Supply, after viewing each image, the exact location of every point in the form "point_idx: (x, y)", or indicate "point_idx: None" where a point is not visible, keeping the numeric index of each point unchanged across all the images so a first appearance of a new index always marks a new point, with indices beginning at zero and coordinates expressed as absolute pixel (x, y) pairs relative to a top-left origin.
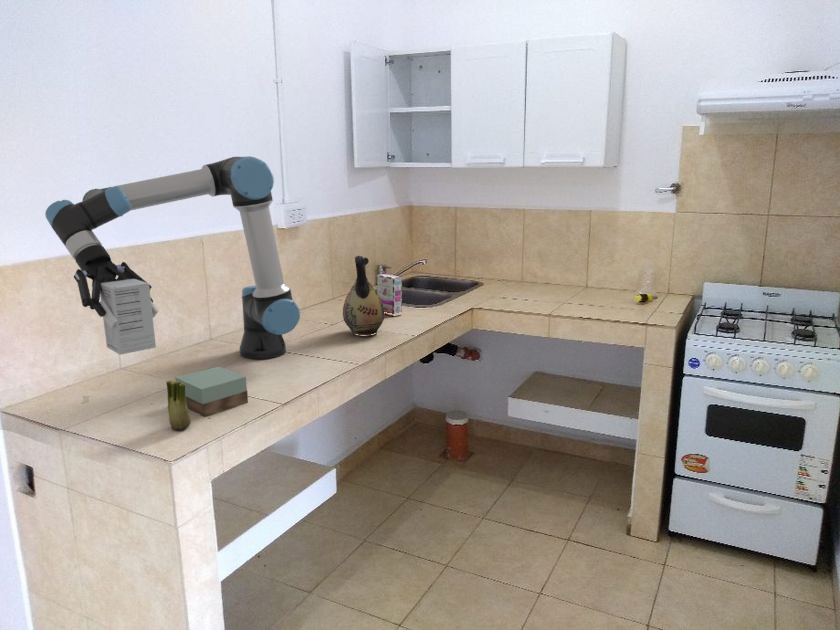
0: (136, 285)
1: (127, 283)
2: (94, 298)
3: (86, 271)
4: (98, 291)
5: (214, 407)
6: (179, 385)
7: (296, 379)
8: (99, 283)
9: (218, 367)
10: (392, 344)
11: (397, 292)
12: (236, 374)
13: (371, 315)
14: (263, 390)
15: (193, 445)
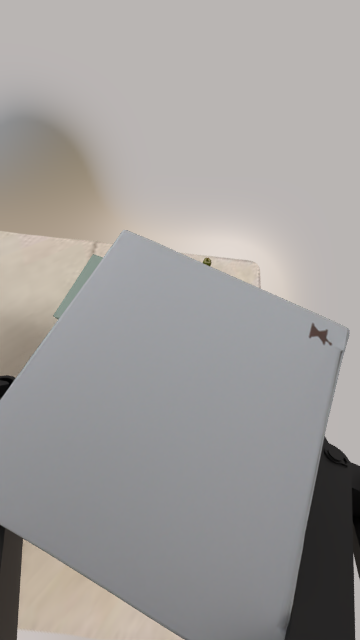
0: (195, 263)
1: (188, 343)
2: (350, 470)
3: None
4: (322, 517)
5: None
6: (210, 262)
7: (4, 264)
8: (307, 638)
9: (60, 312)
10: None
11: None
12: (86, 270)
13: None
14: (56, 281)
15: (224, 264)
